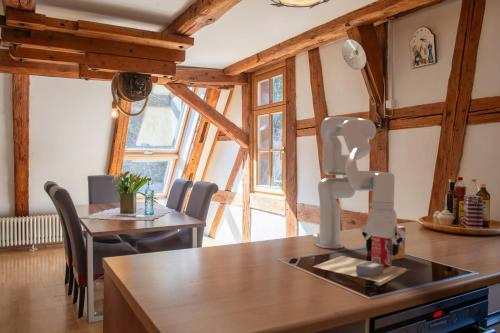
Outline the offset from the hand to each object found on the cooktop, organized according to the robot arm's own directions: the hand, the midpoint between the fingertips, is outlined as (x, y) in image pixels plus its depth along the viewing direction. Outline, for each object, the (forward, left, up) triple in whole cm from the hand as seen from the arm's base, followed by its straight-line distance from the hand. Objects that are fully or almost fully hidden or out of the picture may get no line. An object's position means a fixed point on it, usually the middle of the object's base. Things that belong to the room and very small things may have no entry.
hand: (381, 252), depth 150 cm
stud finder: (0, -10, -5) cm, 12 cm away
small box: (-5, +22, -7) cm, 24 cm away
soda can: (0, 0, -6) cm, 6 cm away
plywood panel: (-6, -6, -7) cm, 11 cm away
